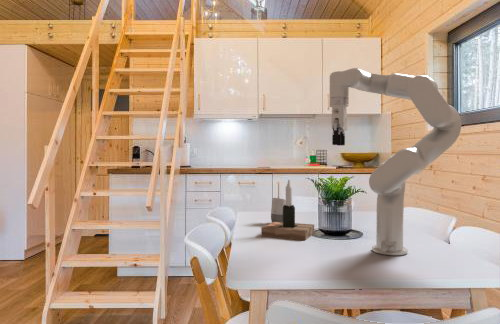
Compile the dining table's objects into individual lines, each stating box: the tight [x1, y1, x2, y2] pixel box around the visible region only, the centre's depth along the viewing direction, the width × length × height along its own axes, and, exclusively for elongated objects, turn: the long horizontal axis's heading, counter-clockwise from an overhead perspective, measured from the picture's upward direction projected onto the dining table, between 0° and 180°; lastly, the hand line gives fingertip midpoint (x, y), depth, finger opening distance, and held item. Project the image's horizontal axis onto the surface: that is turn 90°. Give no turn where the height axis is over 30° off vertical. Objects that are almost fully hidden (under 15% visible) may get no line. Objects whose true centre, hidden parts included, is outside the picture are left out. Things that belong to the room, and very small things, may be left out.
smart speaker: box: [270, 197, 286, 223], centre depth 202 cm, size 10×9×14 cm
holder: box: [260, 221, 315, 241], centre depth 176 cm, size 16×20×4 cm
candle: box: [283, 179, 296, 228], centre depth 175 cm, size 5×5×25 cm
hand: (338, 145), depth 157 cm, fingers open, 9 cm apart
